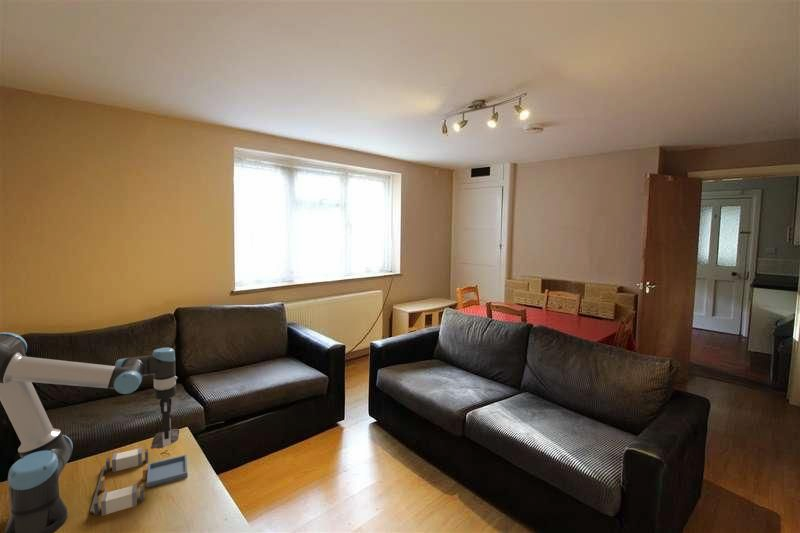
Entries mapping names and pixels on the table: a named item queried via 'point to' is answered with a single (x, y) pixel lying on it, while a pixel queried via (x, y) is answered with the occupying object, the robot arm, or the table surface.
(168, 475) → the tray
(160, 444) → the rock
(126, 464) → the fuse
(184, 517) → the table surface
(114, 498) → the fuse
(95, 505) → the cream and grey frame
